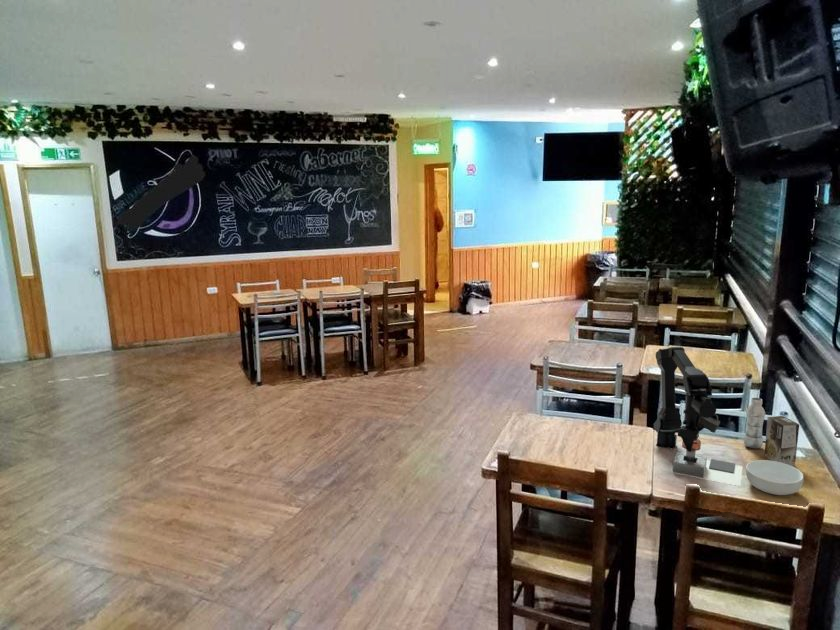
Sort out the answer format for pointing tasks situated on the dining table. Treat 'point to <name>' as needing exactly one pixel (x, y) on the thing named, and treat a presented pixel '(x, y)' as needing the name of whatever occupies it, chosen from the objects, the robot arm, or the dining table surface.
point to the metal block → (689, 465)
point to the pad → (722, 466)
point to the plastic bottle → (754, 424)
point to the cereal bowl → (774, 477)
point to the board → (722, 475)
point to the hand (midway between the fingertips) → (691, 448)
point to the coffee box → (781, 440)
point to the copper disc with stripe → (691, 455)
